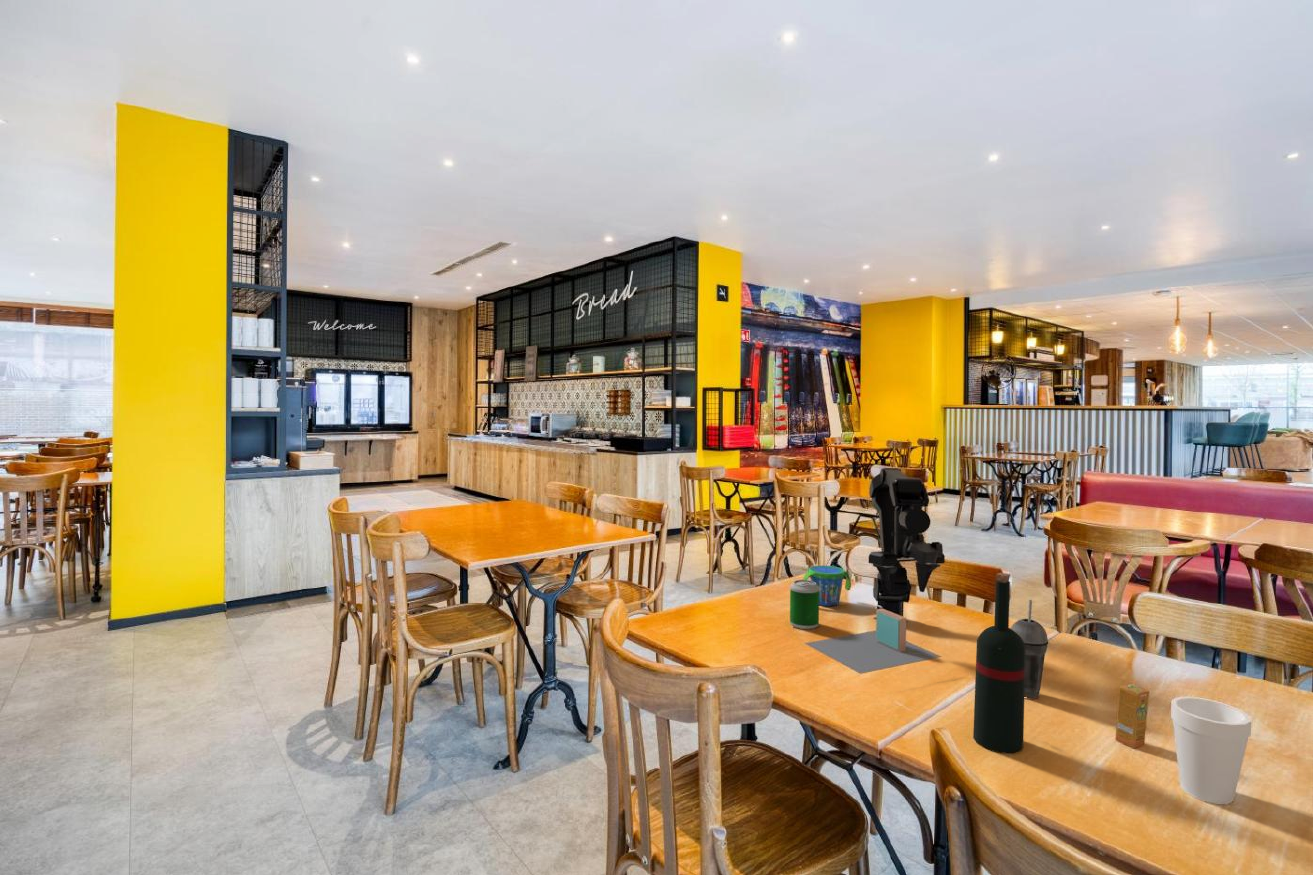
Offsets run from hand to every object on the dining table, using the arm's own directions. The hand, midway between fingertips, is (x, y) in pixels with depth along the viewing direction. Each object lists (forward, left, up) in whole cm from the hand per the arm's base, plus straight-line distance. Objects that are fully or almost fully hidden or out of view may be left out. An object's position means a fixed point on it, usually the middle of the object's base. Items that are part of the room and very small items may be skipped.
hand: (906, 592), depth 164 cm
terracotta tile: (+5, 0, -13) cm, 13 cm away
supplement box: (-1, +52, -13) cm, 54 cm away
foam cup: (+4, +66, -13) cm, 68 cm away
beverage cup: (-2, +31, -13) cm, 34 cm away
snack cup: (-4, -36, -13) cm, 39 cm away
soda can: (+15, -21, -13) cm, 29 cm away
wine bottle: (+19, +42, -13) cm, 48 cm away
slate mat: (+11, 0, -13) cm, 17 cm away
